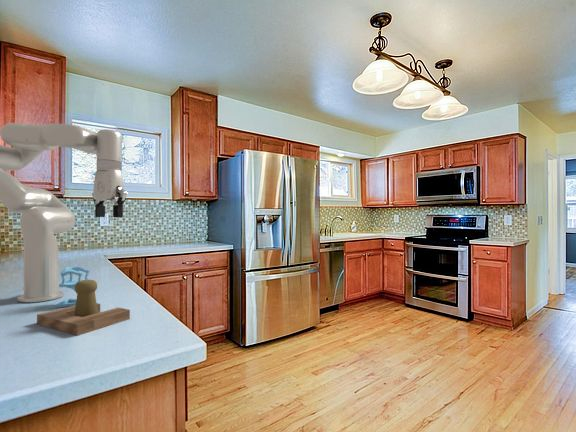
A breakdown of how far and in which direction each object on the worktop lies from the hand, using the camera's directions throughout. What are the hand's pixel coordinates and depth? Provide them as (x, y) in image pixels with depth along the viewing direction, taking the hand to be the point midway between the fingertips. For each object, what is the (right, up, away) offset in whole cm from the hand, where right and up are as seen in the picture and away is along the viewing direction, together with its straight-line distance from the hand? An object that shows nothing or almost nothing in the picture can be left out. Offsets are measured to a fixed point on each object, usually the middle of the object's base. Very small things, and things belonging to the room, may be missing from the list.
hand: (108, 217), depth 110 cm
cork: (+6, -28, -22) cm, 37 cm away
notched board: (+6, -28, -23) cm, 37 cm away
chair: (-8, -28, -6) cm, 30 cm away
